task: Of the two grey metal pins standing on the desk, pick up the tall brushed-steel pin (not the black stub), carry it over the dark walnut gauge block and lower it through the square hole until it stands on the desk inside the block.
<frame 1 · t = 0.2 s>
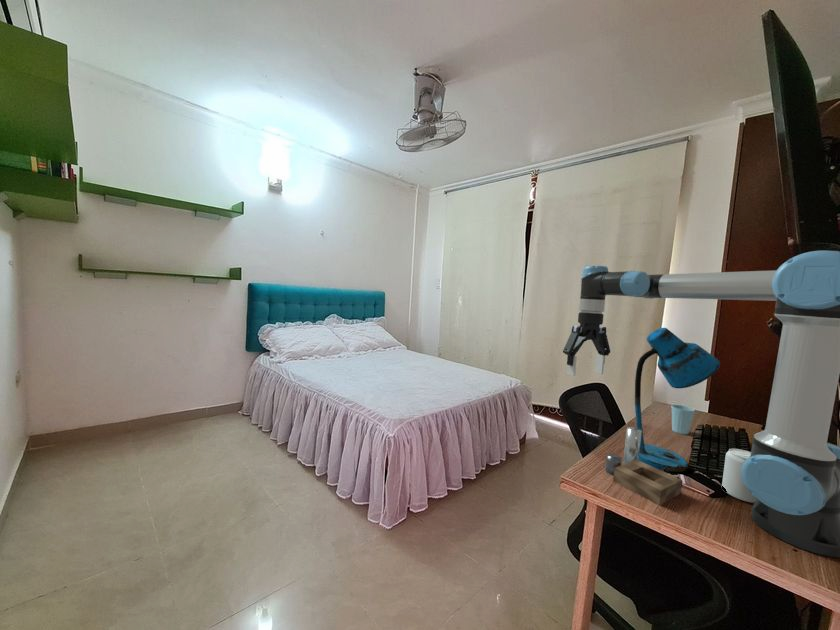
hand: (585, 374, 111), 27 cm above the table, fingers open, 13 cm apart
cup: (680, 432, 137), on the table
desk lamp: (663, 461, 110), on the table
beverage can: (740, 496, 92), on the table
stub pin: (612, 472, 101), on the table
gauge block: (646, 487, 93), on the table
tall pin: (630, 465, 106), on the table
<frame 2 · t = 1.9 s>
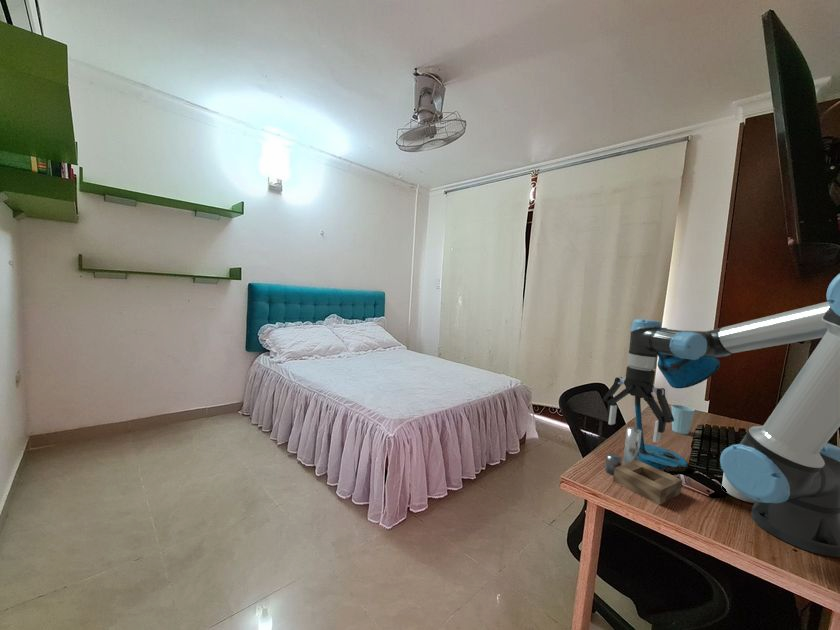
hand: (632, 432, 105), 11 cm above the table, fingers open, 13 cm apart
nothing on the table moved.
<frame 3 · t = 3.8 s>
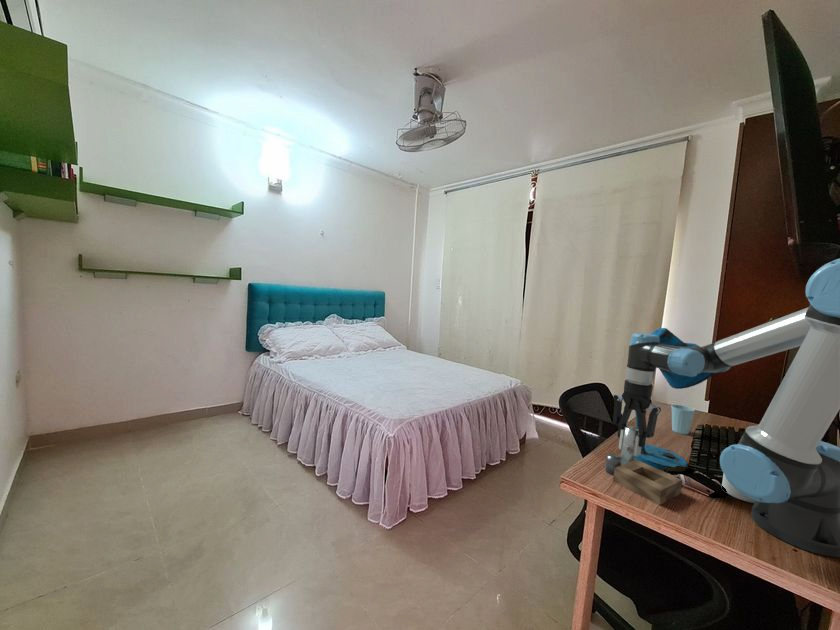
hand: (629, 451, 106), 4 cm above the table, fingers closed on tall pin, 4 cm apart
desk lamp: (663, 461, 110), on the table, touching arm
tall pin: (627, 463, 106), on the table, touching gripper
everything else where it was.
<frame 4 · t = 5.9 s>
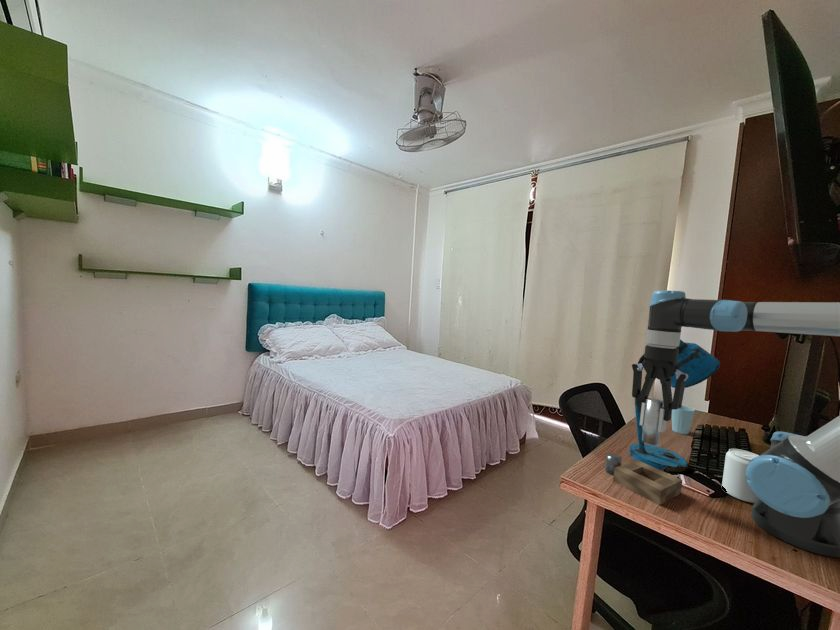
hand: (652, 427, 92), 18 cm above the table, fingers closed on tall pin, 4 cm apart
desk lamp: (663, 461, 110), on the table
tall pin: (650, 441, 92), point 13 cm above the table, touching gripper
everything else where it was.
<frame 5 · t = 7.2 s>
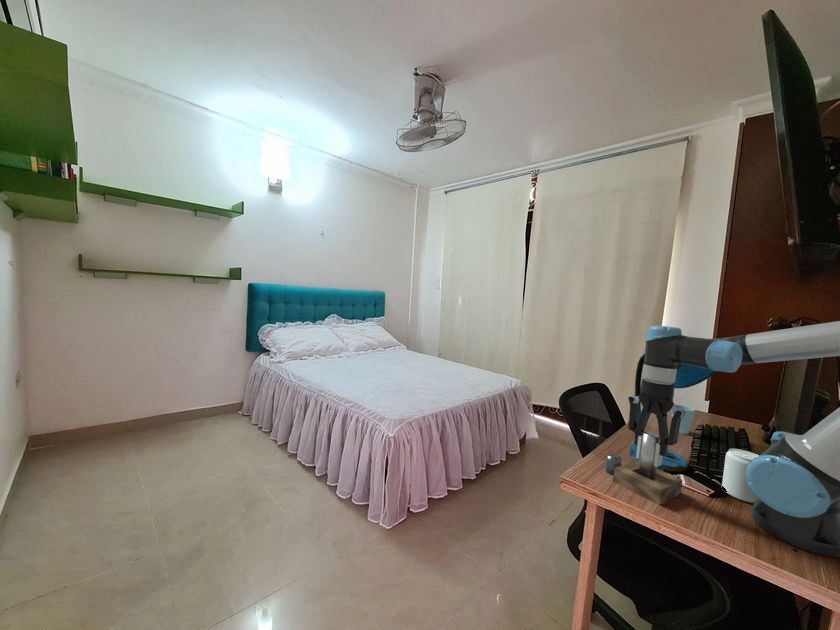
hand: (648, 461, 93), 8 cm above the table, fingers closed on tall pin, 4 cm apart
tall pin: (646, 475, 93), point 4 cm above the table, touching gripper
everything else where it was.
when the fingers open (5 cm above the table, at t = 8.3 s): tall pin stays where it is, resting in gauge block.
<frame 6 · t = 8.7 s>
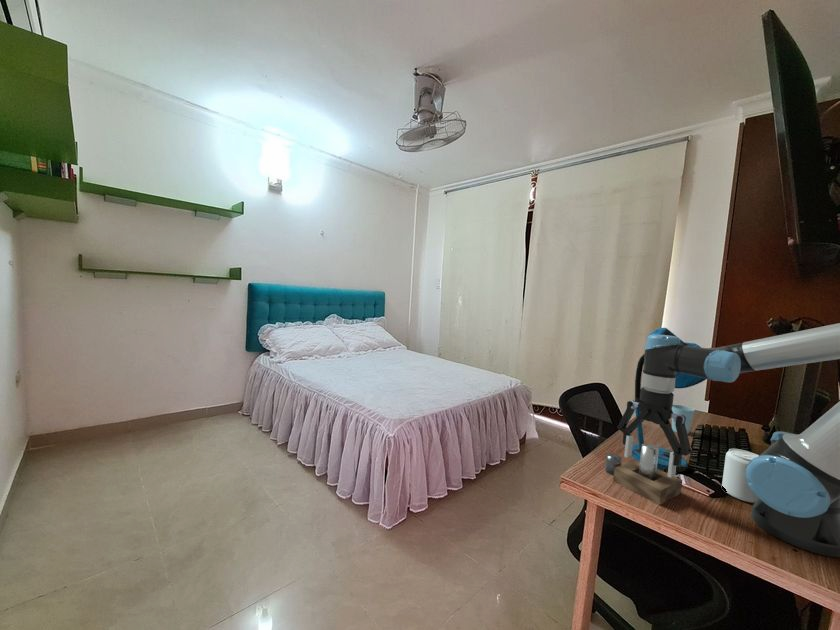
hand: (648, 465, 93), 6 cm above the table, fingers open, 10 cm apart
tall pin: (645, 487, 93), resting in gauge block
everything else where it was.
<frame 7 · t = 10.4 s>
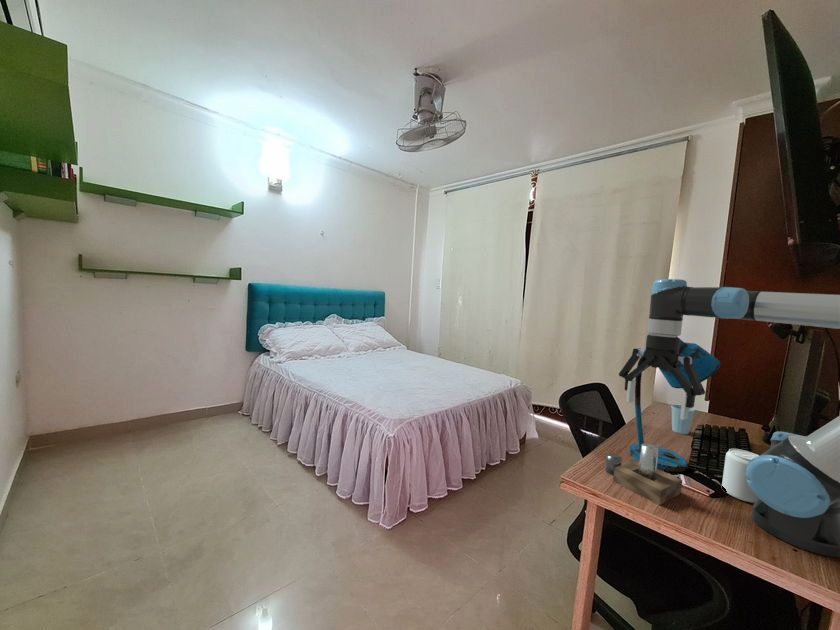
hand: (655, 410, 92), 23 cm above the table, fingers open, 13 cm apart
nothing on the table moved.
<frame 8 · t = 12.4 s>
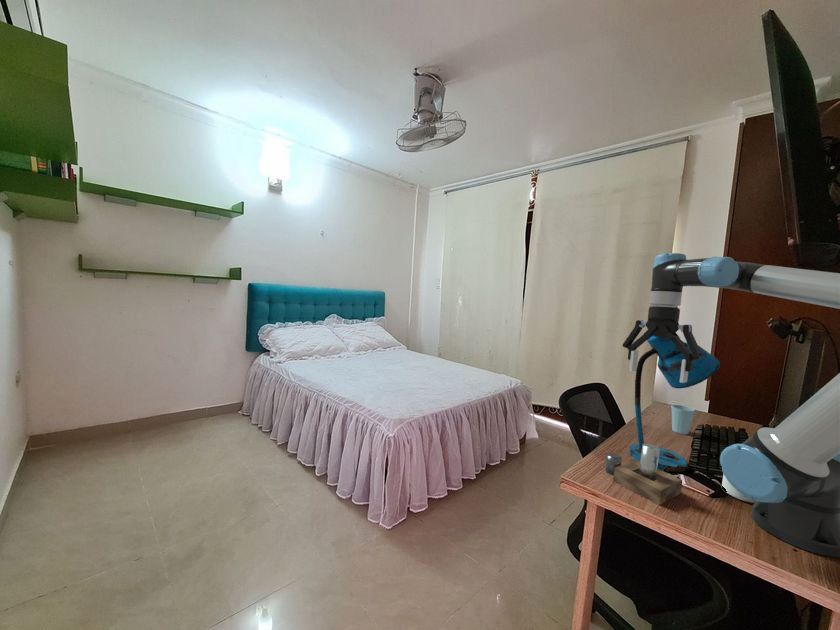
hand: (656, 376, 99), 31 cm above the table, fingers open, 13 cm apart
nothing on the table moved.
at the end: tall pin 0.3 cm off-centre on the gauge block, point 0.0 cm above the gauge block's base; tall pin tilted 1°; the gripper is holding nothing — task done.
